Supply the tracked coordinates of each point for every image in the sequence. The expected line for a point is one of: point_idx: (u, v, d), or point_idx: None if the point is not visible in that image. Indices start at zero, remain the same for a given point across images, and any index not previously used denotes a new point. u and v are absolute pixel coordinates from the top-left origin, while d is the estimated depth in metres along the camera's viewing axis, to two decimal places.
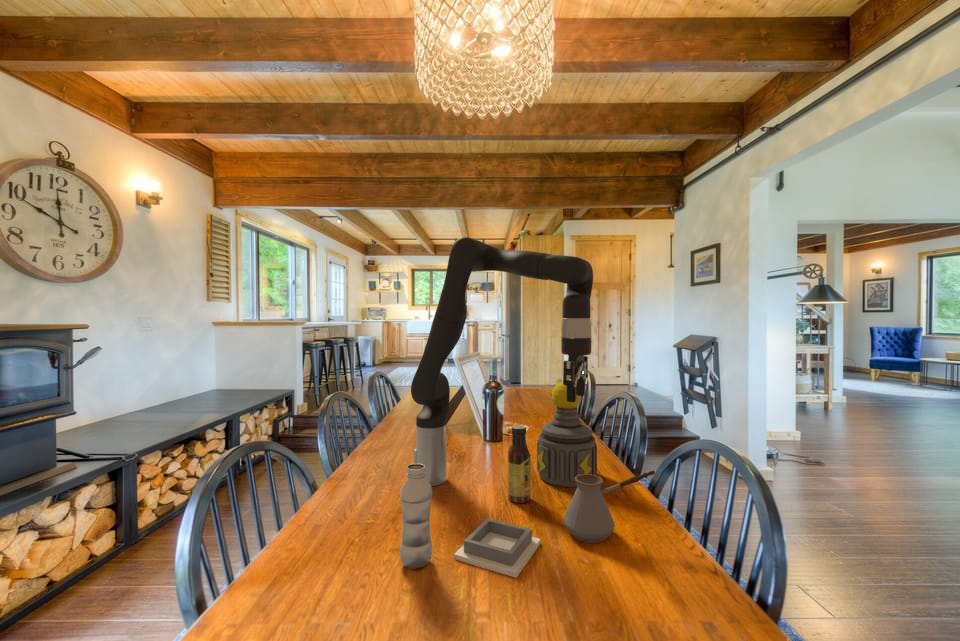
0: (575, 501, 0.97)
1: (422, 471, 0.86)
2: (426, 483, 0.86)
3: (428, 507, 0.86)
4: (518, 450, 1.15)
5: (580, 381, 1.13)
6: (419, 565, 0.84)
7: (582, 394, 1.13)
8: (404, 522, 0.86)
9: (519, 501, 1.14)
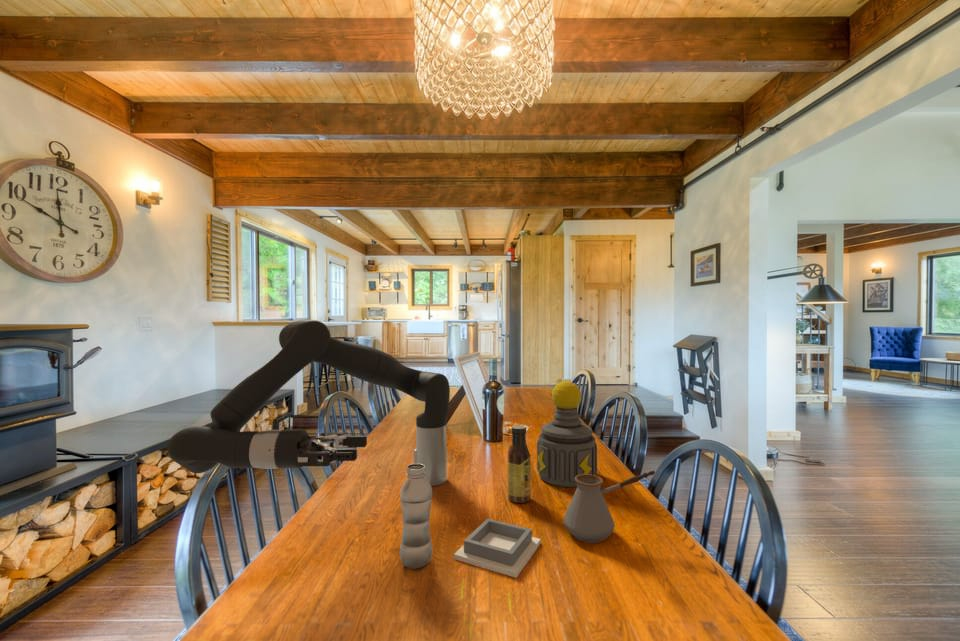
0: (575, 501, 0.97)
1: (422, 471, 0.86)
2: (426, 483, 0.86)
3: (428, 507, 0.86)
4: (518, 450, 1.15)
5: None
6: (419, 565, 0.84)
7: None
8: (404, 522, 0.86)
9: (519, 501, 1.14)
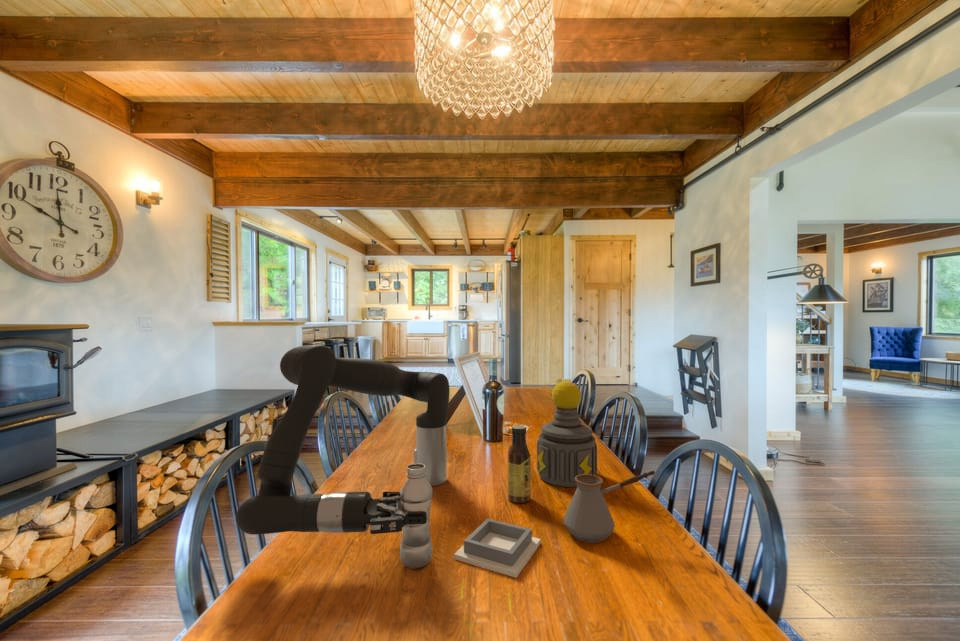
0: (575, 501, 0.97)
1: (422, 471, 0.86)
2: (426, 483, 0.86)
3: (428, 507, 0.86)
4: (518, 450, 1.15)
5: None
6: (419, 565, 0.84)
7: None
8: None
9: (519, 501, 1.14)
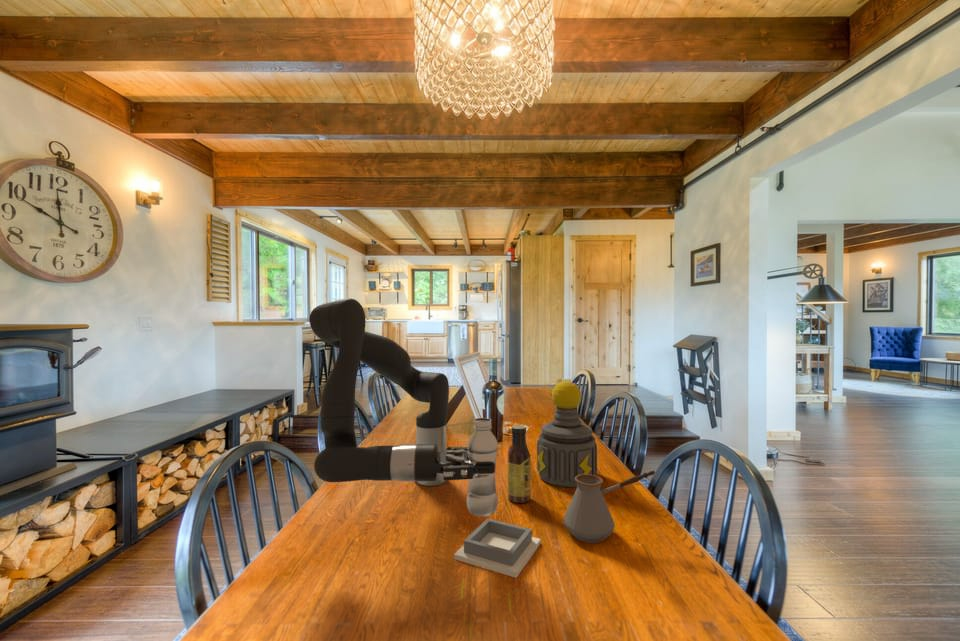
0: (576, 501, 0.97)
1: (489, 424, 0.89)
2: (492, 435, 0.90)
3: (495, 458, 0.89)
4: (518, 450, 1.15)
5: None
6: (487, 513, 0.88)
7: None
8: None
9: (519, 501, 1.14)
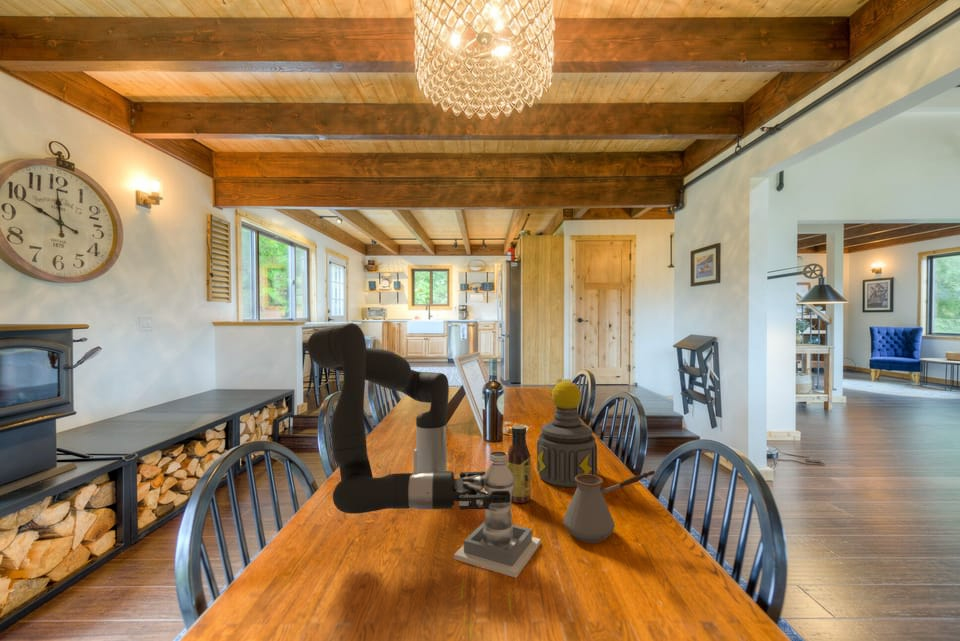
0: (575, 501, 0.97)
1: (505, 458, 0.91)
2: (509, 469, 0.91)
3: (511, 492, 0.90)
4: (518, 450, 1.15)
5: None
6: (503, 547, 0.89)
7: None
8: None
9: (519, 501, 1.14)
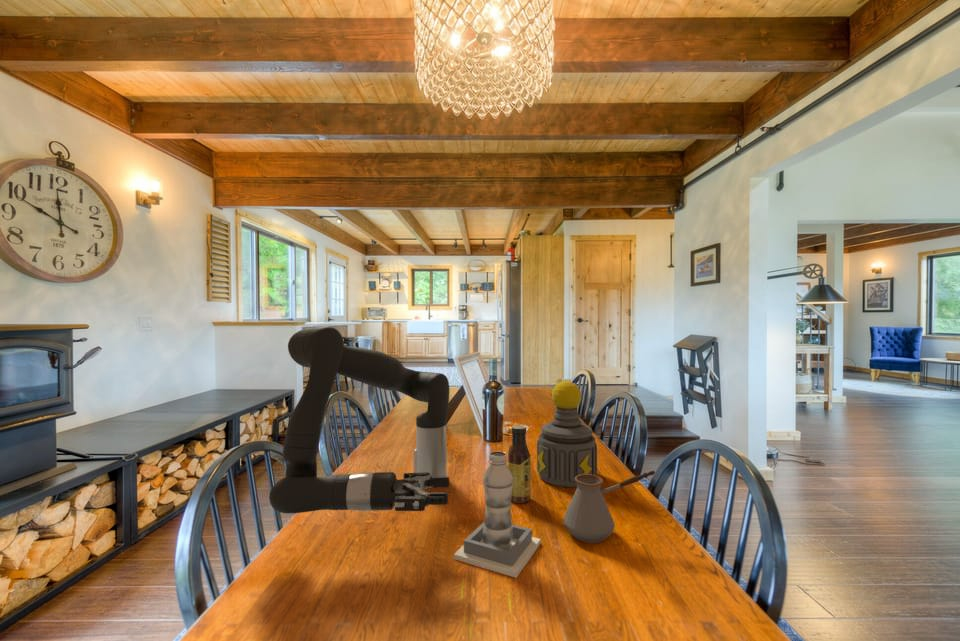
0: (575, 501, 0.97)
1: (505, 458, 0.91)
2: (508, 469, 0.91)
3: (510, 492, 0.90)
4: (518, 450, 1.15)
5: None
6: (503, 547, 0.89)
7: None
8: (488, 506, 0.90)
9: (519, 501, 1.14)
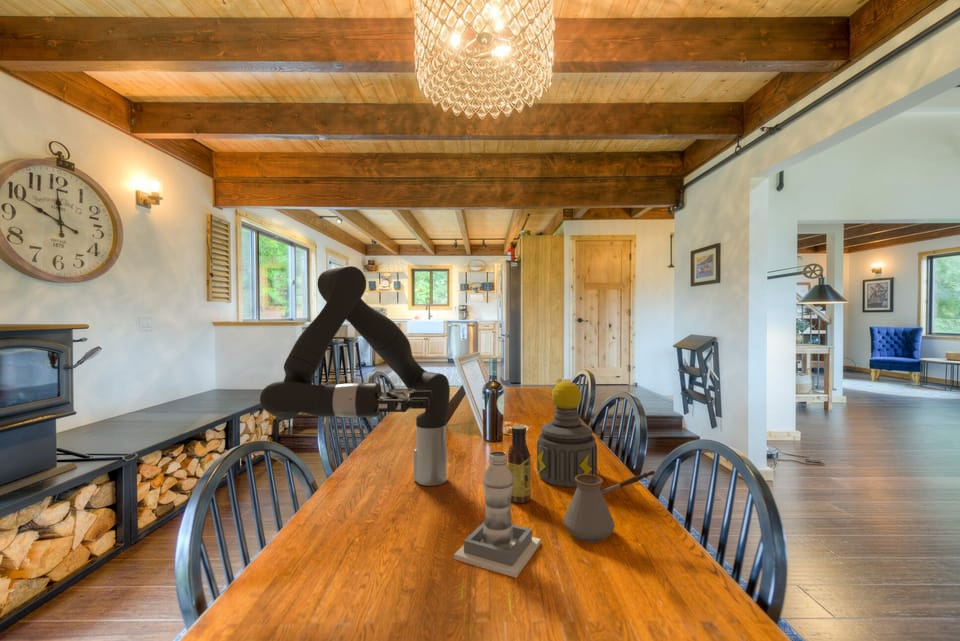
0: (575, 501, 0.97)
1: (505, 458, 0.91)
2: (508, 469, 0.91)
3: (510, 492, 0.90)
4: (518, 450, 1.15)
5: None
6: (503, 547, 0.89)
7: None
8: (488, 506, 0.90)
9: (519, 501, 1.14)
